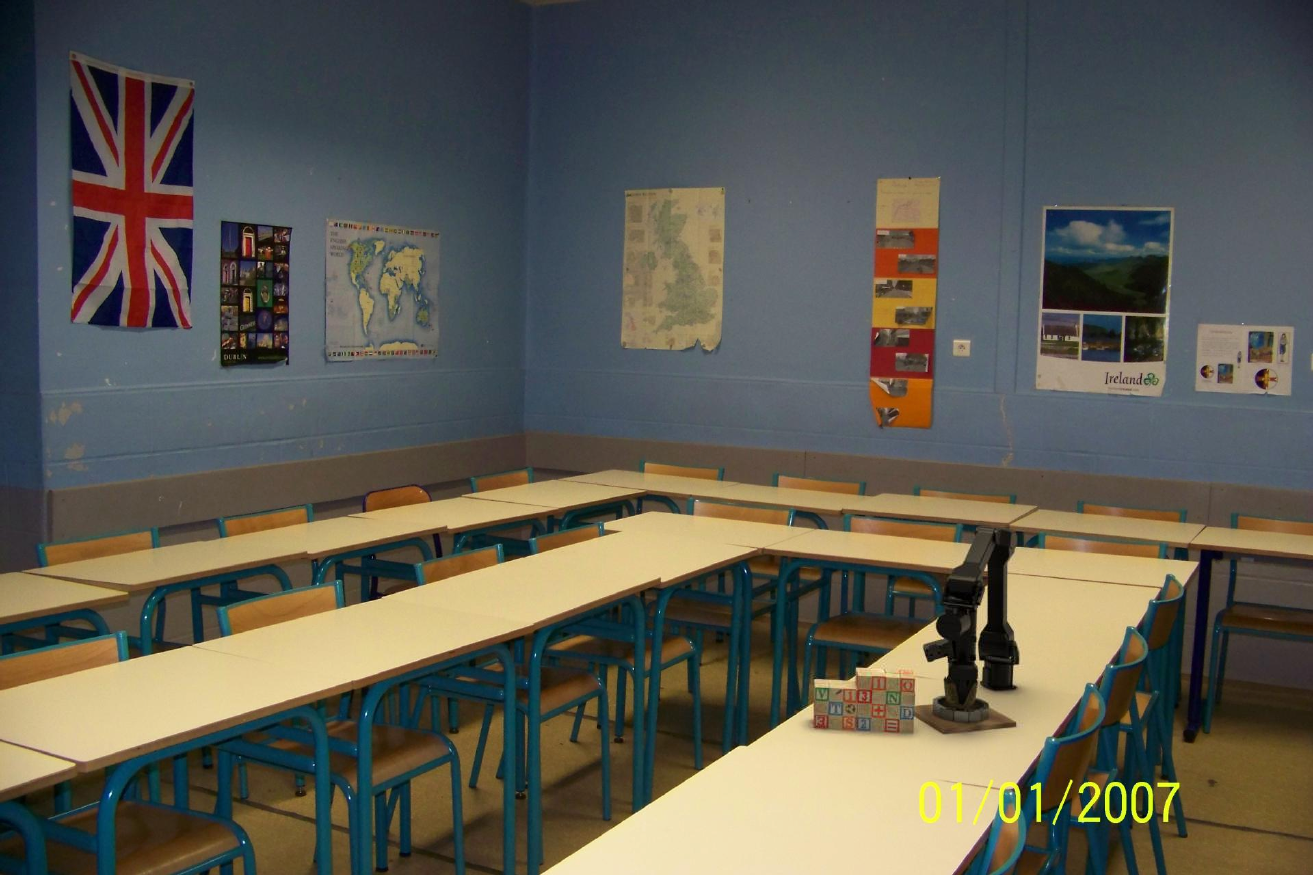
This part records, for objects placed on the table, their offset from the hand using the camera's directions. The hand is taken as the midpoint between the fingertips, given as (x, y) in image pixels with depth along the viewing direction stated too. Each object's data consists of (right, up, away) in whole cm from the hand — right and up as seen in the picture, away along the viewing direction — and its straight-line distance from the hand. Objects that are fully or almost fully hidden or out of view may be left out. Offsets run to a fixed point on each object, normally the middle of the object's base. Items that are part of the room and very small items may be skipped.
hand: (960, 698), depth 262 cm
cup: (0, -4, 0) cm, 4 cm away
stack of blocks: (-23, -5, -5) cm, 24 cm away
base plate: (0, -4, 0) cm, 5 cm away
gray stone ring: (0, -4, 0) cm, 5 cm away
